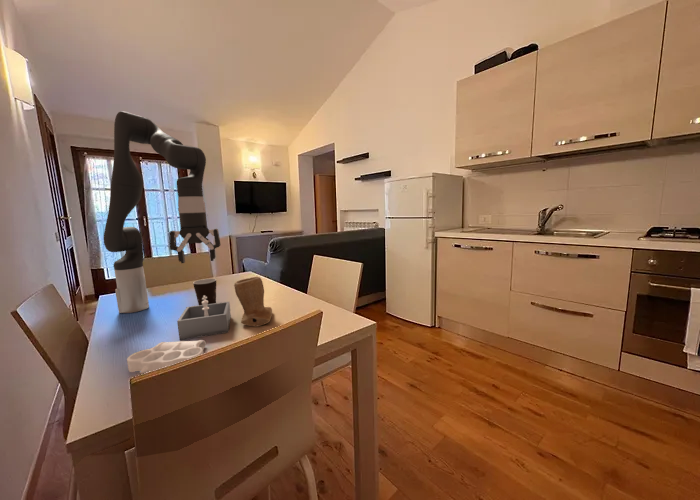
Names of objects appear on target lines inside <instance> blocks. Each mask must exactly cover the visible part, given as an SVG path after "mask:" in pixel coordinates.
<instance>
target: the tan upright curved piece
mask: <svg viewBox="0 0 700 500" xmlns="http://www.w3.org/2000/svg"><path fill="white" fill-rule="evenodd" d="M233 286H234V292H235V295H236V298H238V301H239V303H240V304H241V307H242V310H243V314H242V318H241V320H240V324H243V325H246V326H249V327H259V326H264V325H266V324H268V323H270V321H271V318H272V315H273V309H272V307H269V306H265V304H264V301H265V299H264V296H265V288H264V287H265V286H264V282H263V280H262V278H261V277H260V276H254V277H253V276H252V277H249V278H243V279H240V280H237V281H235V282H234V285H233Z"/></svg>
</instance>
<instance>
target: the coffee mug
mask: <svg viewBox="0 0 700 500" xmlns="http://www.w3.org/2000/svg"><path fill="white" fill-rule="evenodd" d="M192 284H193V288H194V292H195V296H196V300H197V304H198V305H203V304H202V301H204V299H203V300H202V298H203V296H204V295H205V297H207V298H206V300H207V301H208V304H214V303H217V279H216V278H202V279H198V280H195V281H193V282H192Z"/></svg>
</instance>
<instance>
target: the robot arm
mask: <svg viewBox="0 0 700 500" xmlns="http://www.w3.org/2000/svg"><path fill="white" fill-rule="evenodd" d="M113 123H114V126H113V132H114V133H113V143H114V144H113V152H114V153H113V164H112V174H111V182H110V190H109V191H110V193H109V195H110V196H109V205H108V211H107V217H106V222H105V227H104V232H103V244H104V247H105V249H106V250H107V251H108V252H111V253H120V252H121V253H122V252H125V253H124V255H123V256H122V257H120V258H119V259H117V260H116V261H114V262H113V270H114V275H115V282H116V288H115V290H114V291H115V297H116V303H117V309H118V314H120V313H121V314H122V313H123V314H130V313H137V312H140V311H141V312H142V311H144V310H146V309H149V307H150V304H149V303H150V302H149V297H148V290H147V284H146V283H147V282H146V276H145V269H144V263H143V262H144V248H143V247H144V246H143V238H142V234H141V232H140V230H139V229H138V228H136V227H135V226H125V227H124V225H125V222H126V220H127V217H128V216H129V214H130V213H131V212H132V211H133V210H134V209H135V207H136V206H137V205H138V203H139V202H140V201H141V199H142V195H143V189H144V188H143V186H144V180H143V179H144V178H143V176H142V174H141V172H140V171H139V169H138V168H137V165H136V164H135V162H134V159H133V158H132V155H131V150H130V142H133V143H138V144H142V145H150V146H151V148H152V149H153V151H155V152H156V154H159V156H162V157H164V159H165V161H166V162H167V164H168V165H169V166H170V167H172V168H174V169H179V170H189V173H188V176H184V177H183V176H182V177H179V178H177V179H176V192H177V207H178V208H177V209H178V218H179V224H180V226H179V228H180V229H179V230H170V231H169V235H168V237H169V249H170V250H171V251H175V252H177V256H178V257H177V258H178V262H179V263H181V264H185V263H186V258H185V251H184V249H185V247H186V246H187V245H188V244H190V245H191V244H201V243H203V244H204V245H205V246H206V247H208V248H209V258H210V262H214V260H216V249H217V248H220V246H221V239H220V233H219V229H218V228H214V229H209V228H208V223H207V222H208V221H207V211H206V203H205V199H204V192H203V180H204V173H205V168H206V164H207V159H206V155H205V153H204V151H203V150H202V149H201V148H199V147H198V146H197V147H196V146H191V145H190V146H189V145H184V144H183V143H182V141H180V140H178V139H177V138H175V137H173V136H171V135H169V134H167V133H166V132H164V131H163V130H162V129H161V128H160V127H159V126H158V125H157V124H156V123H155V122H153V121H152V119H149V118H148V117H144V116H141V115H138V114H134V113H131V112H128V111H122V110H120V111H118V112H117V114H116V115H115V119H114V122H113ZM209 234H210V235H211V236H212V237H214V242H215V244H214V243H212V241H211V240H210V239H209V238H208V236H209ZM179 235H180V237H181V238H182V239H183V240H181V242H180V244H179V245H178V246H177V238H178V237H179Z"/></svg>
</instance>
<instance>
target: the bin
mask: <svg viewBox="0 0 700 500" xmlns="http://www.w3.org/2000/svg"><path fill="white" fill-rule="evenodd" d="M207 307H209V309H207V310H208V315H209V316H205V317H204V310H202V308H204V307H203V305H199V304H198V305H192V306H186V307H185V309H184V310H183V312H182V313H181V315H180V316H179V318H178V319H177V320H176V322H177V323H176V324H177V329H178V336H179V337H178V338H179V339H178V340H179V341H184V340H189V339H194V338H196V339H197V338H200V337H208V336H215V335H221V334H227V333H229V329H230V324H231V321H232V320H231V319H232V314H231V305H230V301H223V302H216V303H214V304H208V305H207Z"/></svg>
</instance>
